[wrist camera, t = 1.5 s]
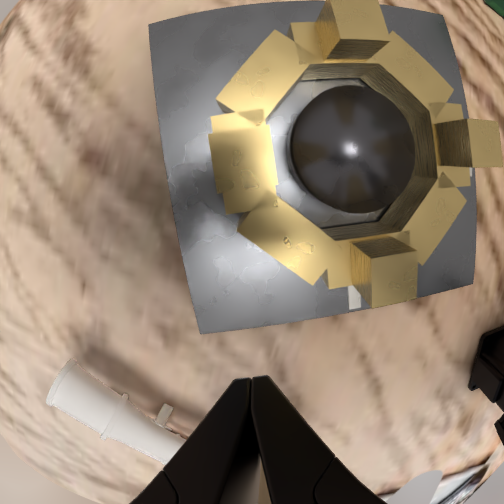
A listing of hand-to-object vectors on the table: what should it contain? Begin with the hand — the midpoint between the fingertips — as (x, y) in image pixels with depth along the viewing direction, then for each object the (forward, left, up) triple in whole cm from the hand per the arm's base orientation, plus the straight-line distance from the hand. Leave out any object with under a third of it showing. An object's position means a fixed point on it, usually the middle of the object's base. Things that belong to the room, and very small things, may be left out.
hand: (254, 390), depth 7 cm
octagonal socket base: (-6, -5, -11) cm, 14 cm away
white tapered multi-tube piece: (+10, +12, -13) cm, 20 cm away
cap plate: (-6, -5, -12) cm, 15 cm away
